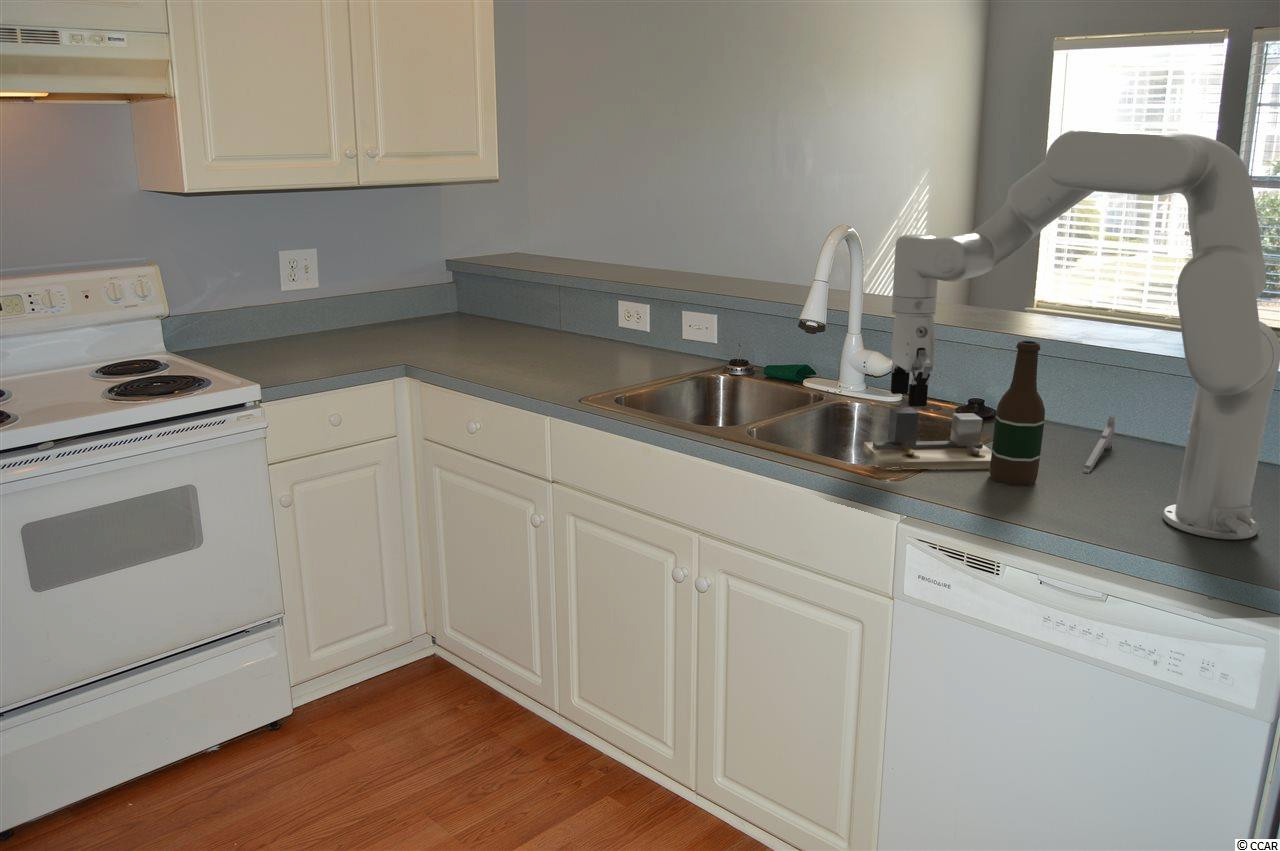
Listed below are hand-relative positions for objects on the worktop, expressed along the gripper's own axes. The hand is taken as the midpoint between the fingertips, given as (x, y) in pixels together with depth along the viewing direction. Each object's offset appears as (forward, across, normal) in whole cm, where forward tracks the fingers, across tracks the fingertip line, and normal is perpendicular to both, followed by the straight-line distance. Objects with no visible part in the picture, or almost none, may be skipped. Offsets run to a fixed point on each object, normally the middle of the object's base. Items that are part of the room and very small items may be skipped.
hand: (908, 399), depth 181 cm
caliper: (+12, -3, -35) cm, 37 cm away
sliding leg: (+9, -1, +1) cm, 9 cm away
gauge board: (+11, -2, -4) cm, 12 cm away
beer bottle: (+11, -14, -14) cm, 23 cm away
